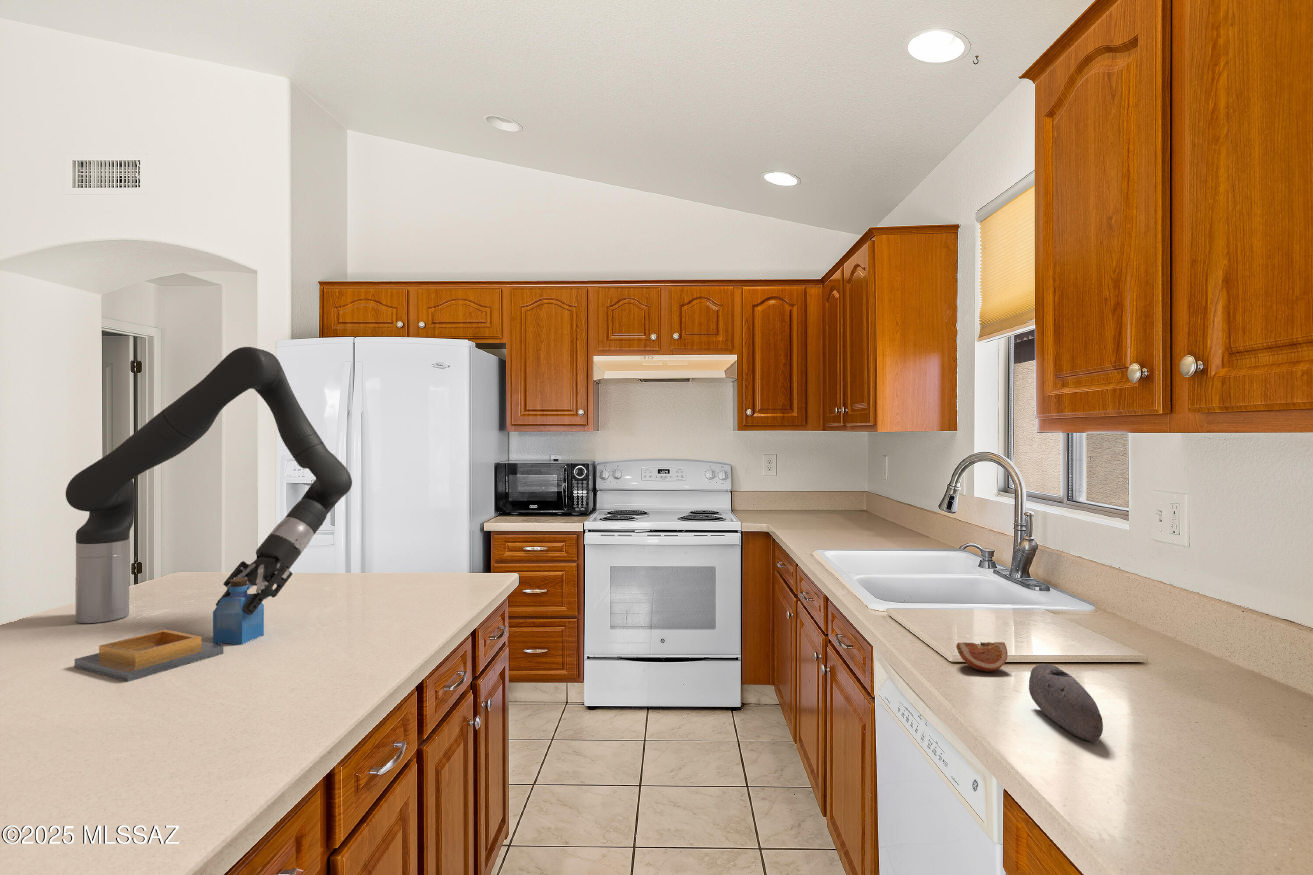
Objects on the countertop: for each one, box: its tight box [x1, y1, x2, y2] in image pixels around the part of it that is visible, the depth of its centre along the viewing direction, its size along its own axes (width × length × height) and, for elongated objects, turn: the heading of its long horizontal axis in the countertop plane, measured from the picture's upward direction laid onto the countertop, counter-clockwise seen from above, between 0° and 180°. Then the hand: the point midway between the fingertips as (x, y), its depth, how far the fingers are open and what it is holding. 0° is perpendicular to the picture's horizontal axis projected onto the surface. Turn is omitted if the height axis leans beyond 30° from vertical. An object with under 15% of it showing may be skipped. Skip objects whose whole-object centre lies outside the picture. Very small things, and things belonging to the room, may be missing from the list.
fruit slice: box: [955, 641, 1008, 673], centre depth 121 cm, size 8×7×5 cm
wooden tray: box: [74, 629, 224, 683], centre depth 123 cm, size 16×16×4 cm
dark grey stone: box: [1028, 663, 1104, 742], centre depth 97 cm, size 15×5×7 cm, turn 175°
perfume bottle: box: [212, 578, 265, 645], centre depth 136 cm, size 6×6×12 cm
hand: (232, 610), depth 135 cm, fingers closed on perfume bottle, 7 cm apart
